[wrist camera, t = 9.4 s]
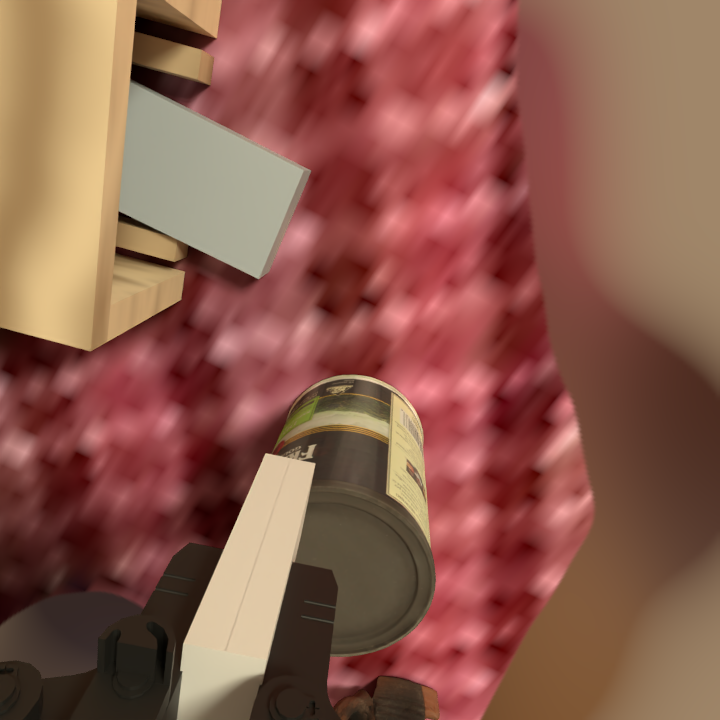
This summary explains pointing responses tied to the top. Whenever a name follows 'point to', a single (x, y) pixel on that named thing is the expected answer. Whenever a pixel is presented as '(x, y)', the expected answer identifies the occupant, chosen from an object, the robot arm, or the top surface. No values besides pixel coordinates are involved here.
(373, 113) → the top surface
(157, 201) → the grey flat block
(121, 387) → the top surface
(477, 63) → the top surface
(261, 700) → the robot arm
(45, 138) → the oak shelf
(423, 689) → the pottery mug
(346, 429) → the coffee can
